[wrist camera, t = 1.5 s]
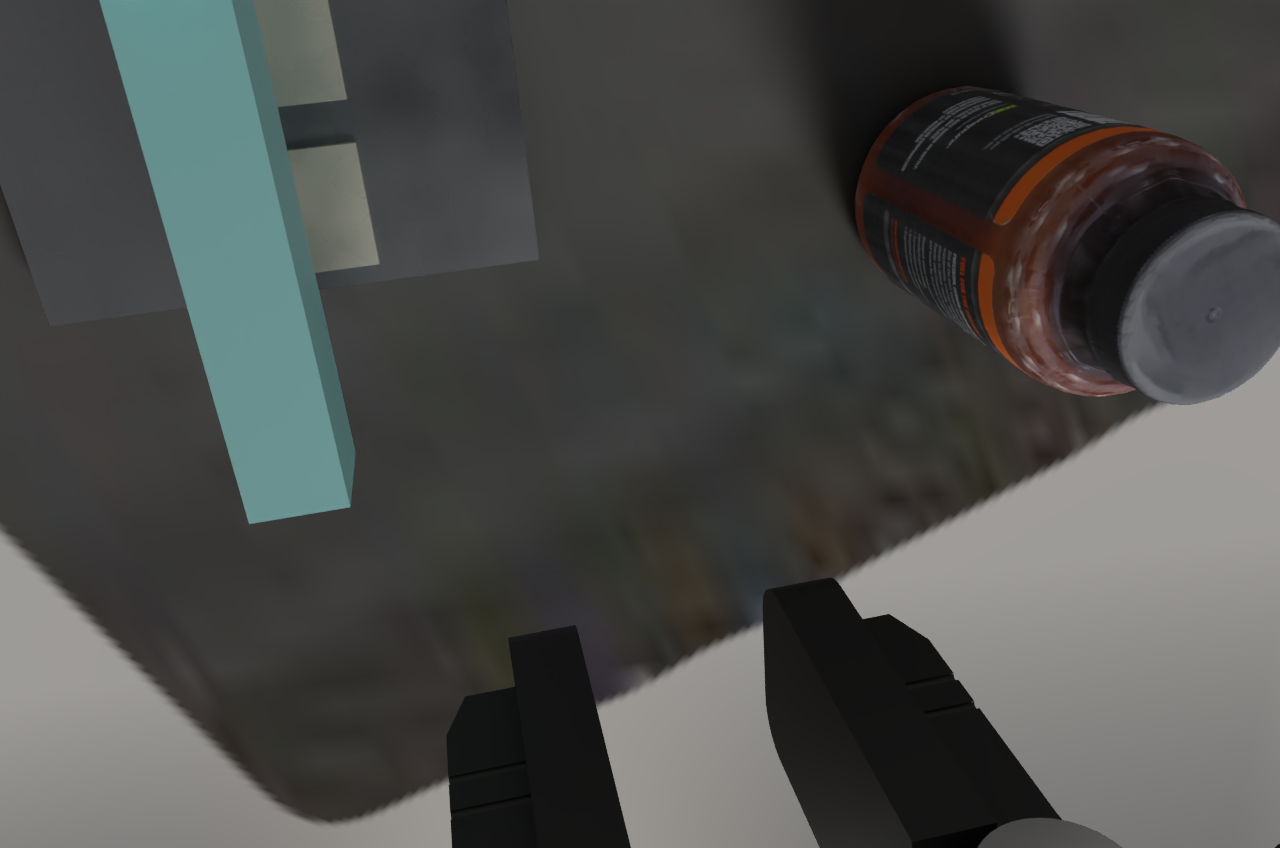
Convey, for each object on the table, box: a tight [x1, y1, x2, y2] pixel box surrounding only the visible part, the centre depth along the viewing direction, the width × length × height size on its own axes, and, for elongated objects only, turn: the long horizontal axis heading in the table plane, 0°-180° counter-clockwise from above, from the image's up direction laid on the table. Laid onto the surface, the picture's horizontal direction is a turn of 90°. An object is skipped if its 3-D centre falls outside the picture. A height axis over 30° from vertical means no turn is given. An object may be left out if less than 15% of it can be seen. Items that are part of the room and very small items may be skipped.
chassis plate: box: [0, 0, 539, 326], centre depth 21 cm, size 12×12×10 cm
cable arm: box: [99, 0, 355, 524], centre depth 18 cm, size 4×15×6 cm, turn 4°
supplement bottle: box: [855, 86, 1280, 405], centre depth 25 cm, size 6×6×11 cm
